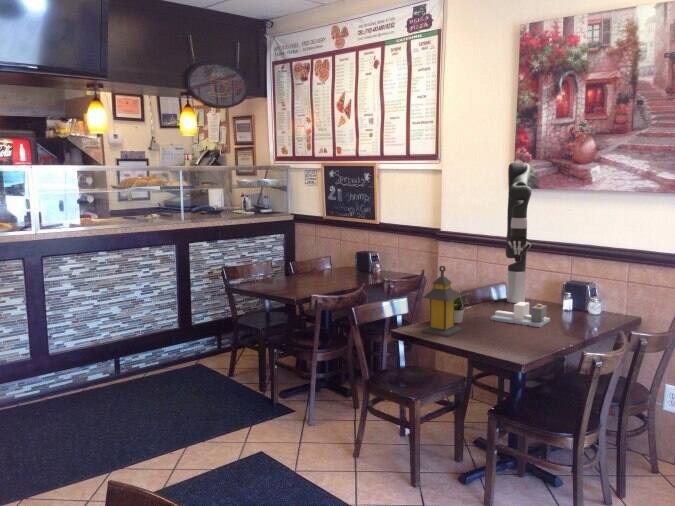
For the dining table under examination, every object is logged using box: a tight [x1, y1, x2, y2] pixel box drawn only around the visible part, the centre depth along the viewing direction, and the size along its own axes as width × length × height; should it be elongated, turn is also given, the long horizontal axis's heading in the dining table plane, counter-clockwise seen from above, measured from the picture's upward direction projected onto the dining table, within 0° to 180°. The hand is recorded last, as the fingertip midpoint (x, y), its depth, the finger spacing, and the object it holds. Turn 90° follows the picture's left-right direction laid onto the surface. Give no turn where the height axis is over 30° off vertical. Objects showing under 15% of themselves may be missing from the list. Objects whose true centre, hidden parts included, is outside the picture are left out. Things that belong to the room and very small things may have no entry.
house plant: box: [454, 288, 472, 324], centre depth 286 cm, size 14×14×16 cm
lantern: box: [421, 265, 463, 338], centre depth 271 cm, size 14×14×30 cm
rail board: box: [490, 303, 551, 328], centre depth 288 cm, size 14×24×9 cm, turn 52°
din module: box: [513, 301, 530, 320], centre depth 288 cm, size 8×4×7 cm, turn 142°
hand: (517, 262), depth 295 cm, fingers closed
